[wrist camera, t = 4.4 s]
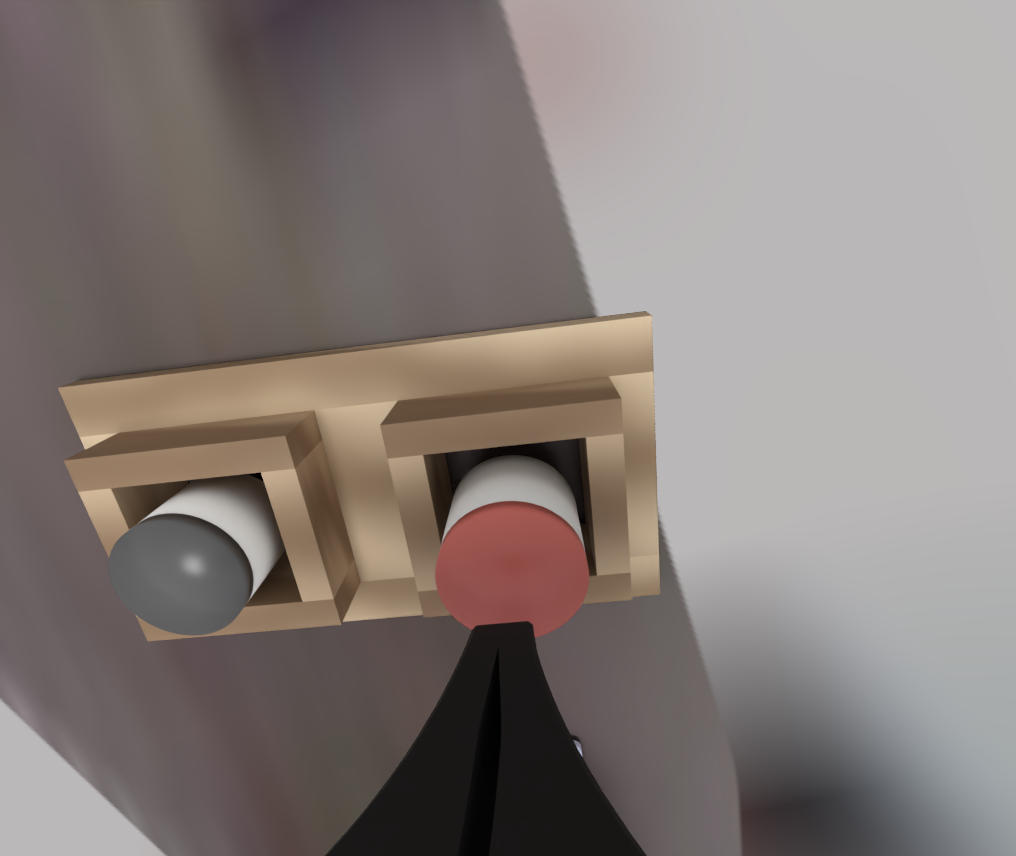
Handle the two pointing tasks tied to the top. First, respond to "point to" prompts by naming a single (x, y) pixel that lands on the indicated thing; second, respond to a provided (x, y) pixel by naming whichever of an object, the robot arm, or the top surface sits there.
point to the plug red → (513, 547)
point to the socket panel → (382, 456)
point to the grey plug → (198, 555)
